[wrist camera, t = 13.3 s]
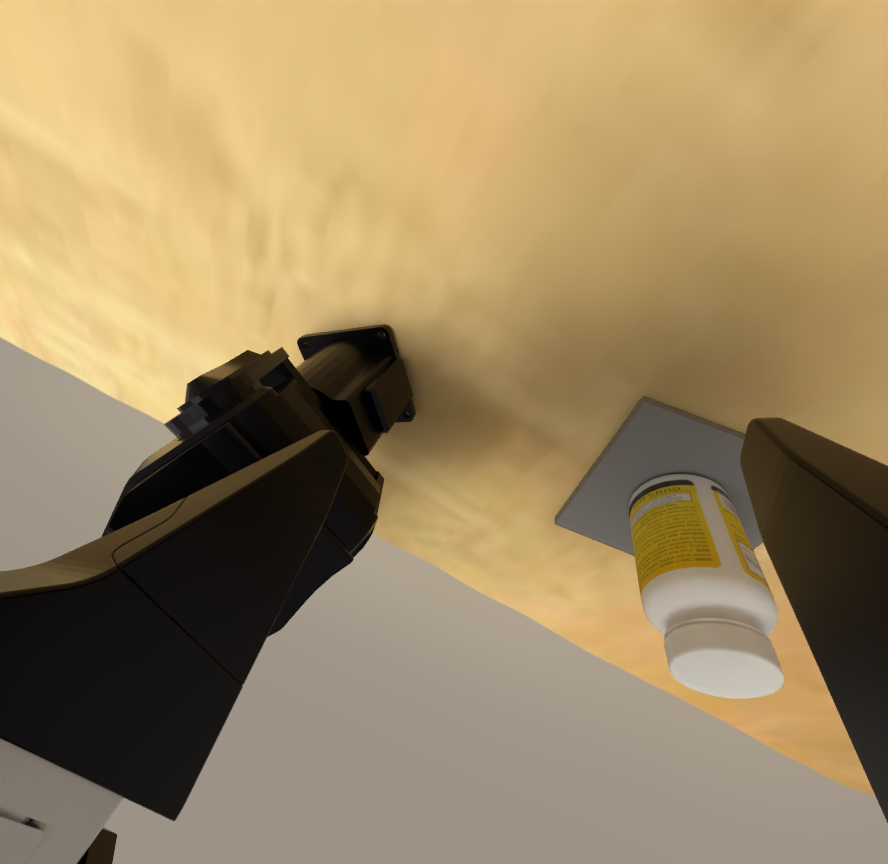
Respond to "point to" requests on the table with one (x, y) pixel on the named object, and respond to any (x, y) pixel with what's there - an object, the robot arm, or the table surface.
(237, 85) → the table surface
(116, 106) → the table surface
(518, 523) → the table surface
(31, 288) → the table surface
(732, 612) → the supplement bottle
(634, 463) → the mat
